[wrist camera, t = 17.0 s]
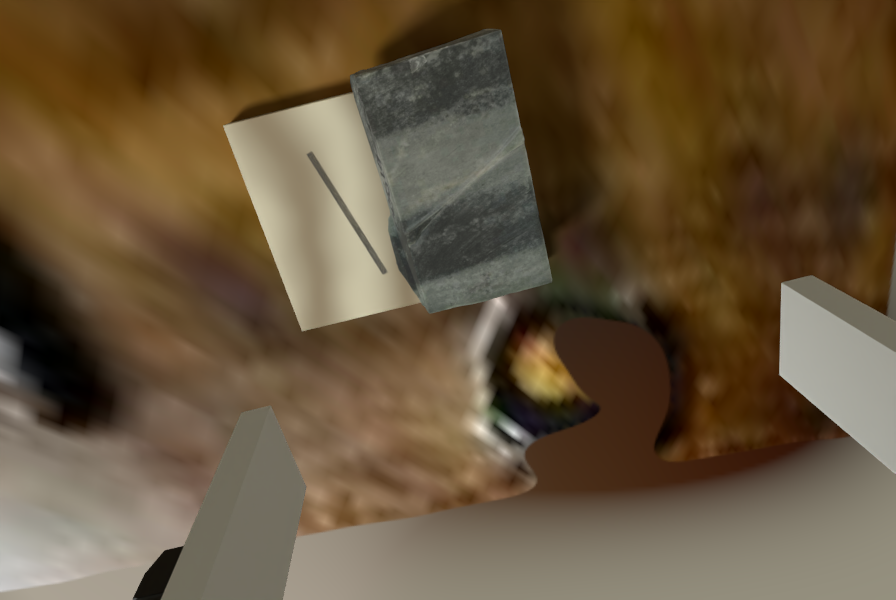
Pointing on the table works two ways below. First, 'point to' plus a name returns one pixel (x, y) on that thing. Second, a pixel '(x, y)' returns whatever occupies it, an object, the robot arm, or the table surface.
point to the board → (321, 209)
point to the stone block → (454, 172)
